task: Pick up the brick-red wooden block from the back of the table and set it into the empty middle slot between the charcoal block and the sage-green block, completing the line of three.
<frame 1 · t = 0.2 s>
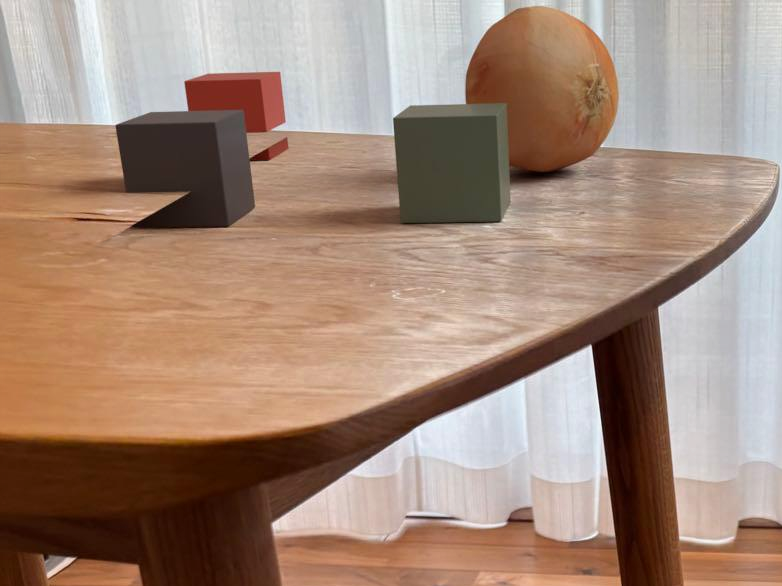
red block: (243, 155, 96), on the table
green block: (457, 212, 73), on the table
onion: (544, 176, 85), on the table
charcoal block: (195, 217, 74), on the table
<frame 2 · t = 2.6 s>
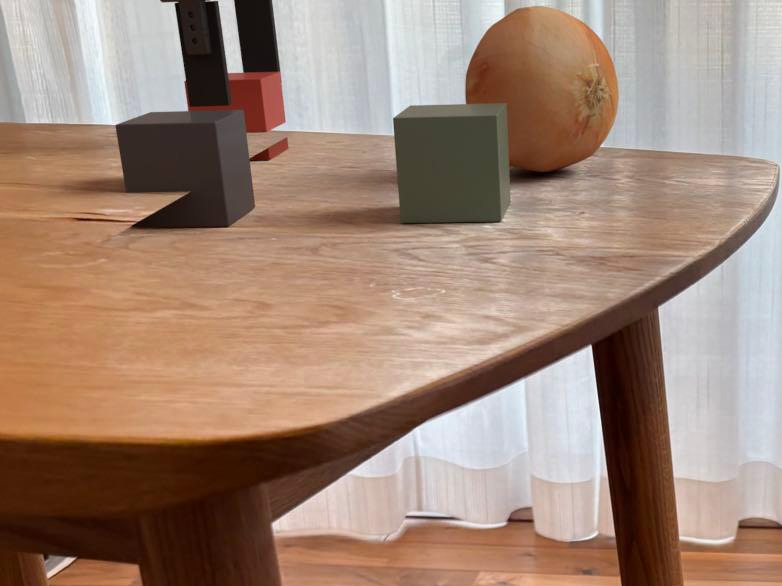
hand: (239, 94, 95), 4 cm above the table, tool pointing down, fingers open, 13 cm apart
nothing on the table moved.
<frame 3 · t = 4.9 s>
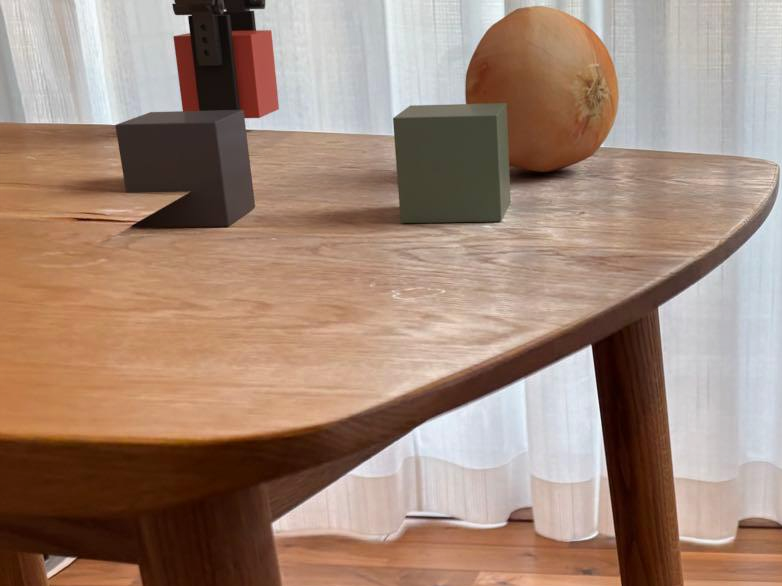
hand: (232, 109, 95), 3 cm above the table, tool pointing down, fingers closed on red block, 5 cm apart
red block: (232, 114, 95), point 3 cm above the table, touching gripper
everything else where it was.
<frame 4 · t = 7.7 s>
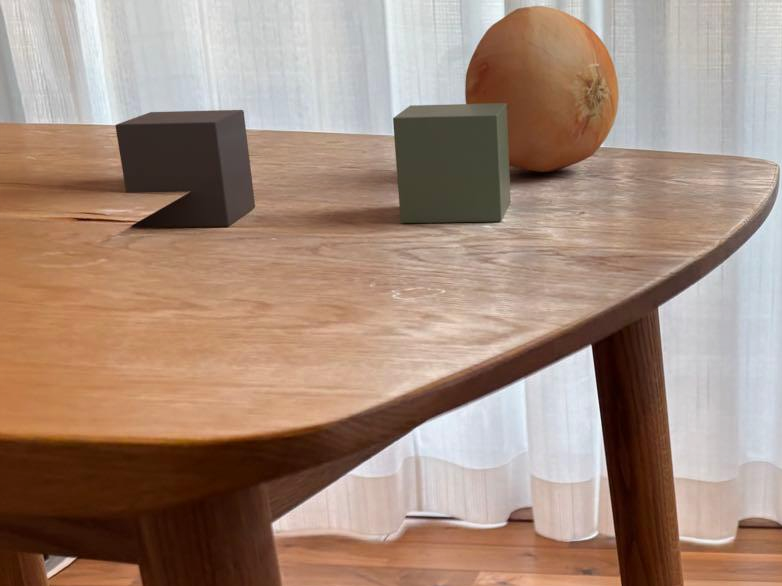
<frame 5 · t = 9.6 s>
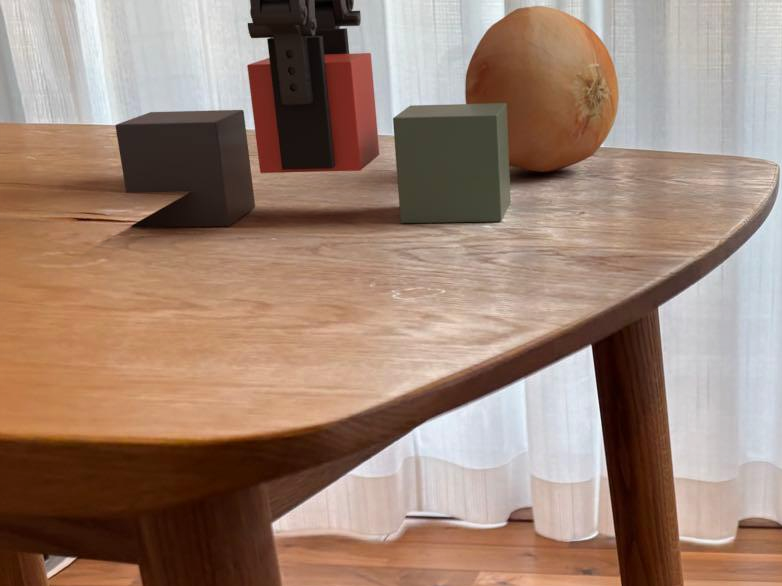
hand: (321, 158, 72), 3 cm above the table, tool pointing down, fingers closed on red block, 5 cm apart
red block: (321, 163, 72), point 3 cm above the table, touching gripper
everything else where it was.
when the fingers open (0 cm above the table, at t = 10.7 s): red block stays where it is, on the table.
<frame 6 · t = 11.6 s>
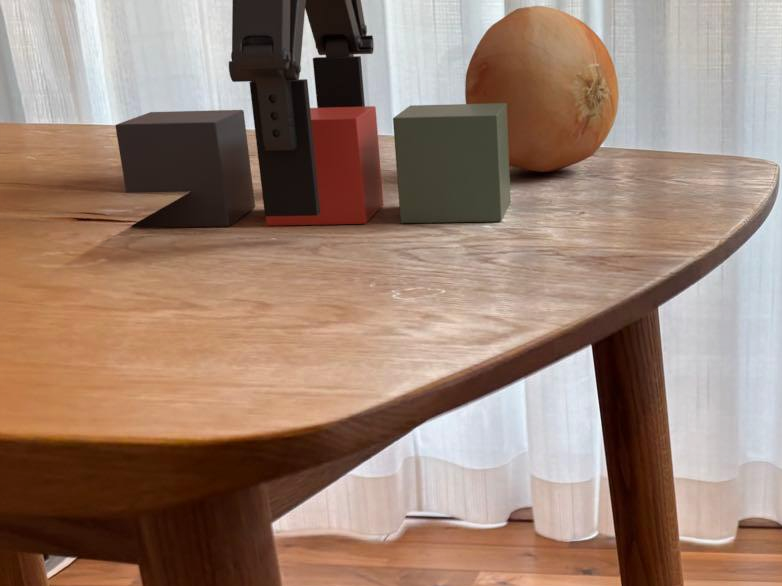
hand: (322, 192, 73), 1 cm above the table, tool pointing down, fingers open, 13 cm apart
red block: (326, 215, 74), on the table
everything else where it was.
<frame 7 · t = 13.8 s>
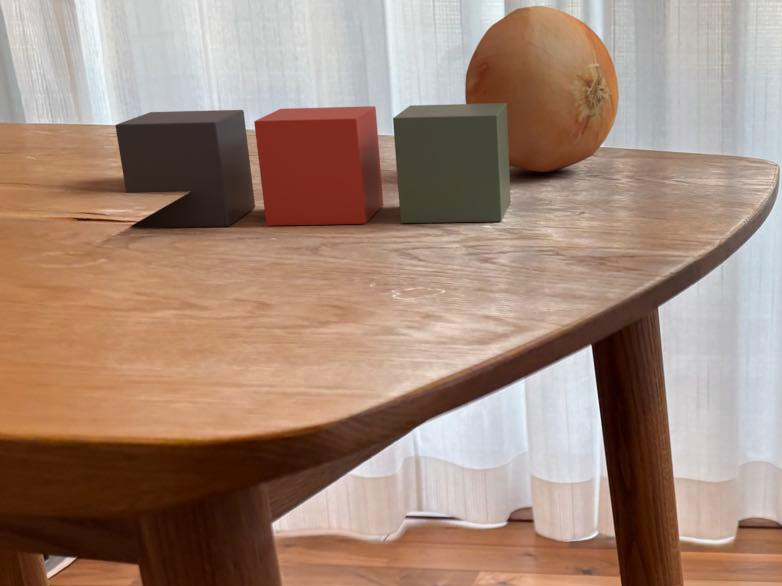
nothing on the table moved.
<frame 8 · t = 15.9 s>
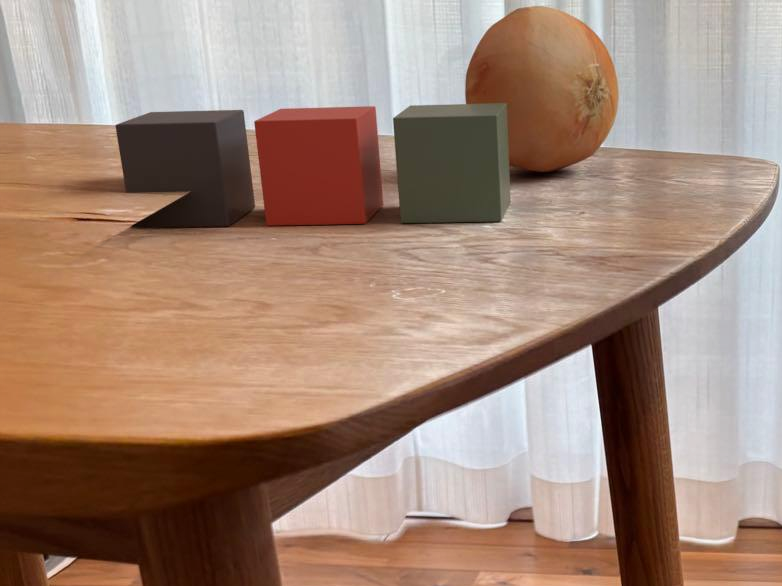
nothing on the table moved.
at the end: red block 0.1 cm from the target spot on the table beside the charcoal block, on the table; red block tilted 0°; green block moved 0.0 cm from its start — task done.
